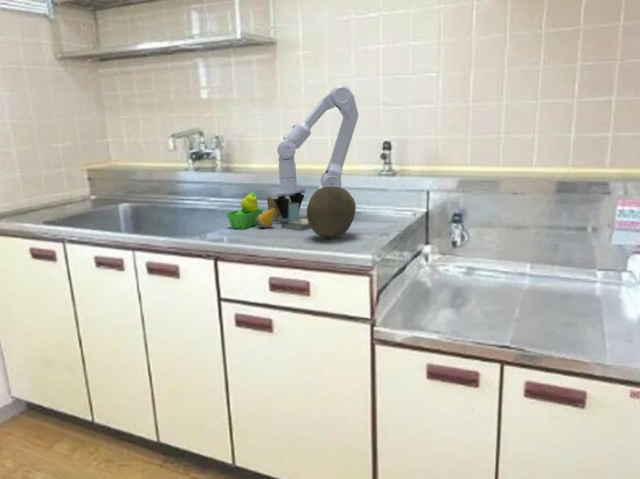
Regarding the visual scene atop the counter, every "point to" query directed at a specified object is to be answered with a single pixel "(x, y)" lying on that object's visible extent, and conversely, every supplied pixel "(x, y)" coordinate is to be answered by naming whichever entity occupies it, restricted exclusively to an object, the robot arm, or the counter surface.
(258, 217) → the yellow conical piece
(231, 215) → the fruit basket
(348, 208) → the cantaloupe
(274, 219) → the track
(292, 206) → the block
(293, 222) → the press bed
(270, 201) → the brown tall block
